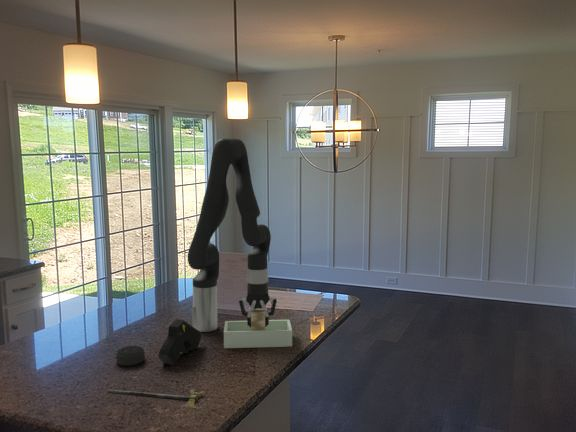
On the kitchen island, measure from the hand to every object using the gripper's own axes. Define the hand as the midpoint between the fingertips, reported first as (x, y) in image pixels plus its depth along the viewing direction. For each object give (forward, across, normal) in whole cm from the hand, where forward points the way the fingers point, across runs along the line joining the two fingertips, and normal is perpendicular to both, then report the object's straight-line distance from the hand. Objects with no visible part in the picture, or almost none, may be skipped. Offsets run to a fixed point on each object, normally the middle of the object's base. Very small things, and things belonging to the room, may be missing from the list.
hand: (258, 326), depth 185 cm
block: (+1, 0, 0) cm, 1 cm away
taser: (+6, -26, -11) cm, 29 cm away
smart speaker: (+6, -42, -15) cm, 45 cm away
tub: (+6, 0, 0) cm, 6 cm away
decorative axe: (+6, -29, -39) cm, 49 cm away
